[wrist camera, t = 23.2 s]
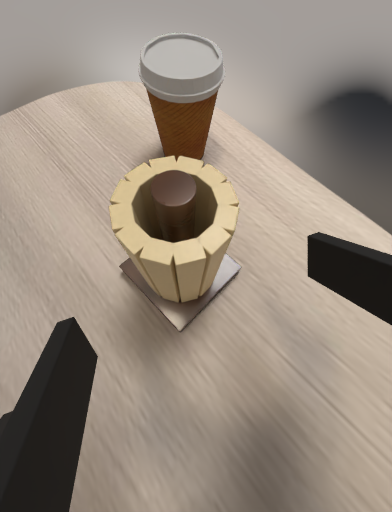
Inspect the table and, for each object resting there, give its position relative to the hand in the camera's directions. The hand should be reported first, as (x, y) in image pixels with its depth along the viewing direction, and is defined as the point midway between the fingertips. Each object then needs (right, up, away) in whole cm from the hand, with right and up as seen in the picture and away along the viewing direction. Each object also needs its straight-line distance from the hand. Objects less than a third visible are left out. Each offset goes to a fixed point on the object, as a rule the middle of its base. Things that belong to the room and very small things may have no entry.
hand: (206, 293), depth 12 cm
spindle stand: (-2, 0, +14) cm, 14 cm away
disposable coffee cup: (-3, +19, +22) cm, 29 cm away
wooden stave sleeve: (-2, +1, +13) cm, 13 cm away
